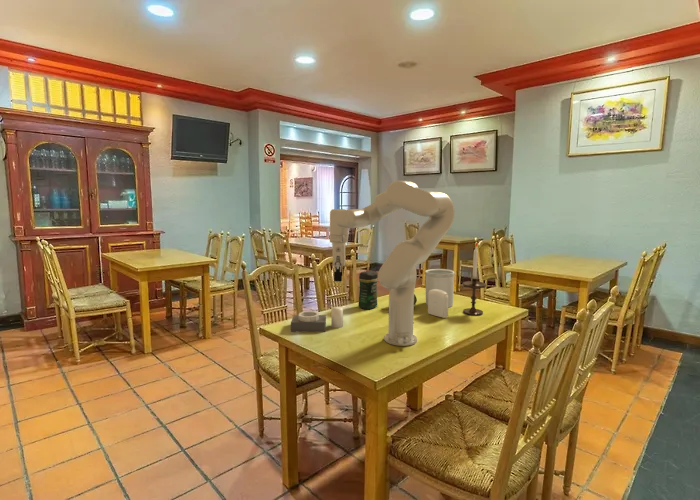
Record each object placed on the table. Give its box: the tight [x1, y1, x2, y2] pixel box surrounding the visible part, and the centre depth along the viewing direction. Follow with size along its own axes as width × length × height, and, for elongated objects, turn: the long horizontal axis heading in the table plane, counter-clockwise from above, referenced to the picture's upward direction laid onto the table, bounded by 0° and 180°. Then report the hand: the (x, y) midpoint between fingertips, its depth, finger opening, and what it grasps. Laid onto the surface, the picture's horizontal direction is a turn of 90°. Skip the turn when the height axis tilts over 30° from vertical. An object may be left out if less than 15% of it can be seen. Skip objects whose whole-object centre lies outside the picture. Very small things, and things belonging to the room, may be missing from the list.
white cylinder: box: [330, 306, 344, 329], centre depth 168 cm, size 5×5×8 cm
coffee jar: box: [358, 269, 379, 310], centre depth 196 cm, size 10×8×19 cm
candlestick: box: [461, 241, 487, 317], centre depth 186 cm, size 11×11×35 cm
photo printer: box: [427, 289, 449, 319], centre depth 183 cm, size 10×4×12 cm, turn 39°
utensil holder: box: [424, 268, 455, 308], centre depth 202 cm, size 15×15×18 cm
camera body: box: [290, 310, 327, 333], centre depth 166 cm, size 10×14×6 cm
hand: (338, 278), depth 166 cm, fingers open, 9 cm apart
